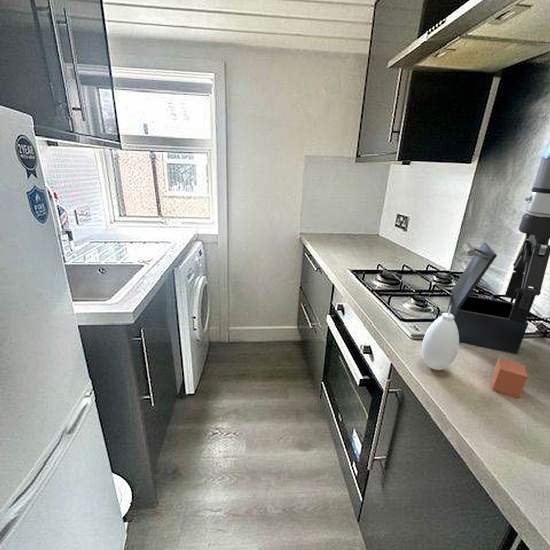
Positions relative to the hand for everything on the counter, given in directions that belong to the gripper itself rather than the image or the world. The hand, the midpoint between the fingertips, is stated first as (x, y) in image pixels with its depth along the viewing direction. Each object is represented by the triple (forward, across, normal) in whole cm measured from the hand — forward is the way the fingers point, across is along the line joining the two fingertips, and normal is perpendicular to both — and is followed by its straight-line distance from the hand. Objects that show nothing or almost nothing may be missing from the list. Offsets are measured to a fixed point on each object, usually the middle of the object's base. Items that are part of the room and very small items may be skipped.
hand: (513, 308), depth 69 cm
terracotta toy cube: (+19, +3, +3) cm, 19 cm away
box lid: (0, -20, -8) cm, 21 cm away
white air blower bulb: (+19, +5, -12) cm, 23 cm away
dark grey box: (+19, -21, -3) cm, 28 cm away
